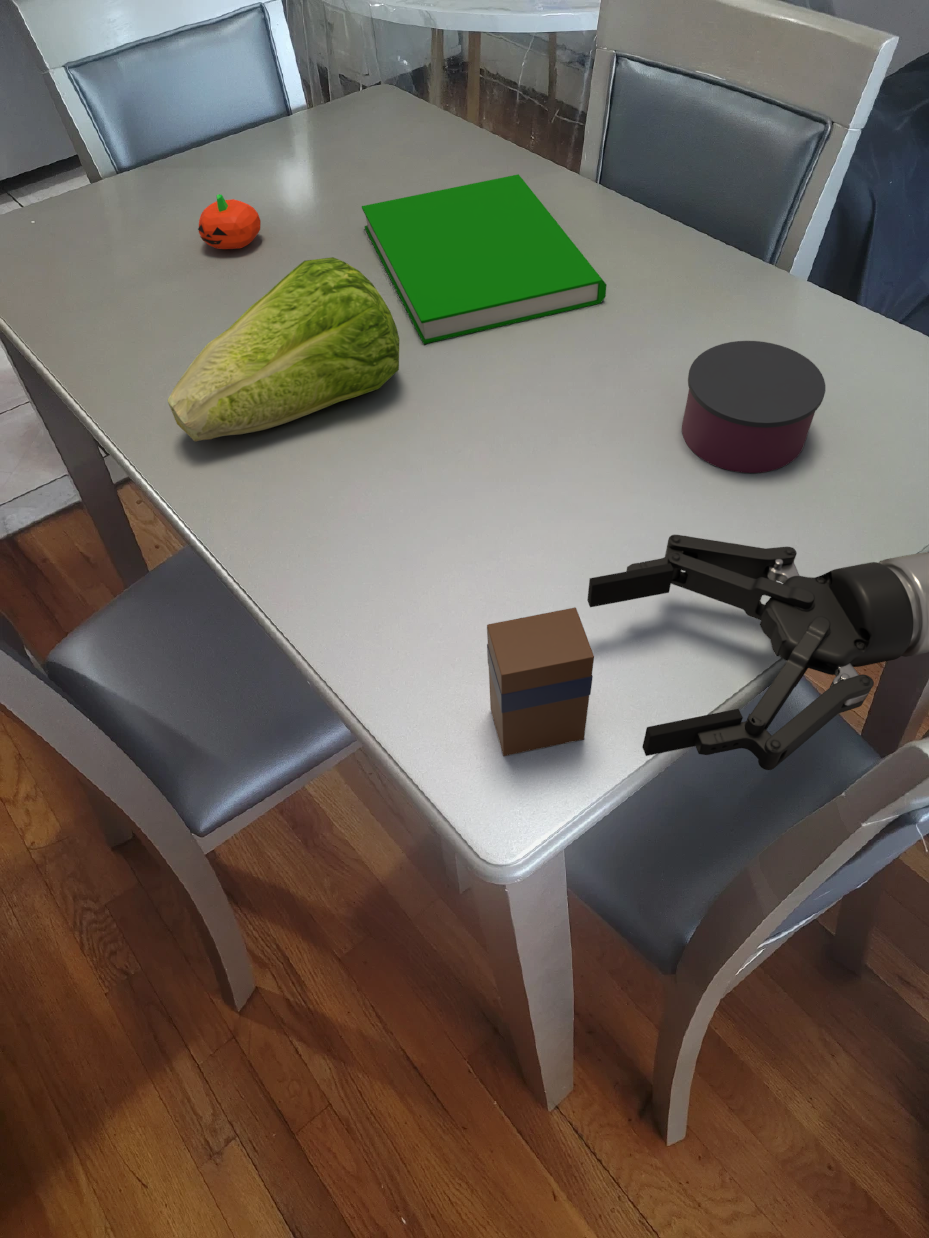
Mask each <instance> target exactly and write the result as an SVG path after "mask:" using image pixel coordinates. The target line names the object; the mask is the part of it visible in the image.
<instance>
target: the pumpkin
mask: <svg viewBox="0 0 929 1238" xmlns="http://www.w3.org/2000/svg"><path fill="white" fill-rule="evenodd" d="M261 222H262V221H261V218H260V215H259V212H257V210H256V208H255V207H254V206H252V205H250V204H248V203H246V202H243V201H242V200H238V199H235V198H233V199H225V197H224V196H223V195H222V194H221V193H220V194H216V200H215V201H214V202H212V203H211V204H209V205H208V206H206V207H205V208H204V209H203V211H202V212H201V213H200V216H199V220H198V228H197V230H198V234H199V237H200V238H201V240H202V241H203V242H204V243H205V244H206V245H208V246H210V247H211V248H214V249H217V250H218V249H219V250H233V249H234V250H235V249H237V250H238V249H243V248H245V247H246V246H248V245H250V243H252V242H254V239H255V238H256V237H257V236H258V234H259V233H260V231H261V224H262V223H261Z"/></svg>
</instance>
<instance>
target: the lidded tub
mask: <svg viewBox="0 0 929 1238" xmlns="http://www.w3.org/2000/svg"><path fill="white" fill-rule="evenodd" d="M687 386H688V392H687V397H686V403H685V406H684V407H685V408H684V413H683V418H682V419H683V420H682V423H681V434H682V437H683V439H684V442H685V444H686V445H687V447H688V448H689V450H691V451H692V453H694V454H695V455H696V456H697V457H699V458H700V459H701V460H703V461H704V462H706V463H707V464H709V465H712V466H713V467H714V466H715V467H717V468H719V469H723V470H726V471H730V472H736V473H742V474H743V473H744V474H760V473H767V472H772V471H775V470H778V469H781V468H783V467H785V466H787V465H789V464H790V463H792V462H793V461H795V460H796V459H797V458H798V457H799V455H800V454H801V452H802V451H803V448H804V447H805V444H806V440H807V437H808V434H809V431H810V429H811V425H812V423H813V419H814V418H815V417H814V416H815V414H816V411H817V410H818V409H819V407H820V406H821V404H822V403H823V401H824V397H825V394H826V381H825V378H824V376H823V373H822V372H821V371H820V369H819V368H818V367H817V366H816V364H815V363H814V362H812V360H810V359H809V358H808V357H806V356H805V355H803V354H801V353H799V352H798V351H796V350H793V349H791V348H789V347H786V346H784V345H780V344H777V343H772V342H767V341H759V340H737V341H729V342H724V343H720V344H717V345H714V346H712V347H710V348H708V349H706V350H704V351H703V352H701V353H700V354H699V355H698V356H697V357H696V358H695V359H694V360H693V362H692V364H690V367H689V371H688V376H687Z"/></svg>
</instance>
